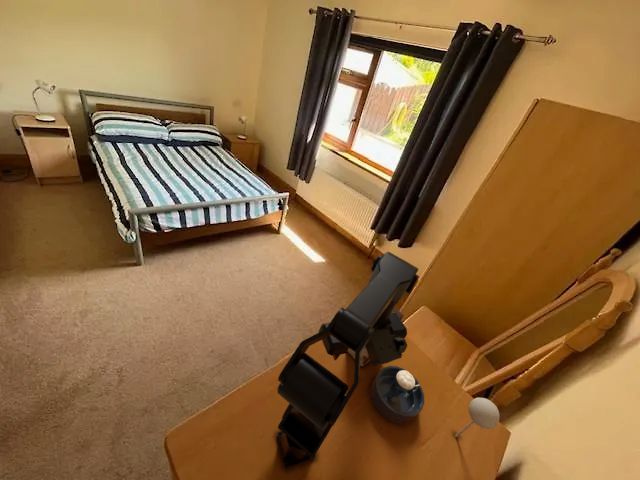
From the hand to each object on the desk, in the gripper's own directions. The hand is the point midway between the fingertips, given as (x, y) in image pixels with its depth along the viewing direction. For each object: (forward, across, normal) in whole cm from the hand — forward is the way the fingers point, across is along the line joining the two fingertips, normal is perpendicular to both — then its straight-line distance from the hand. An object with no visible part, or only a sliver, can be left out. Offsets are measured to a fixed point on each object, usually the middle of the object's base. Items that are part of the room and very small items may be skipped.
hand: (352, 354), depth 69 cm
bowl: (+13, +13, -7) cm, 20 cm away
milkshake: (+13, +13, -7) cm, 19 cm away
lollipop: (+13, +24, -19) cm, 33 cm away
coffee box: (+13, +12, +7) cm, 19 cm away
